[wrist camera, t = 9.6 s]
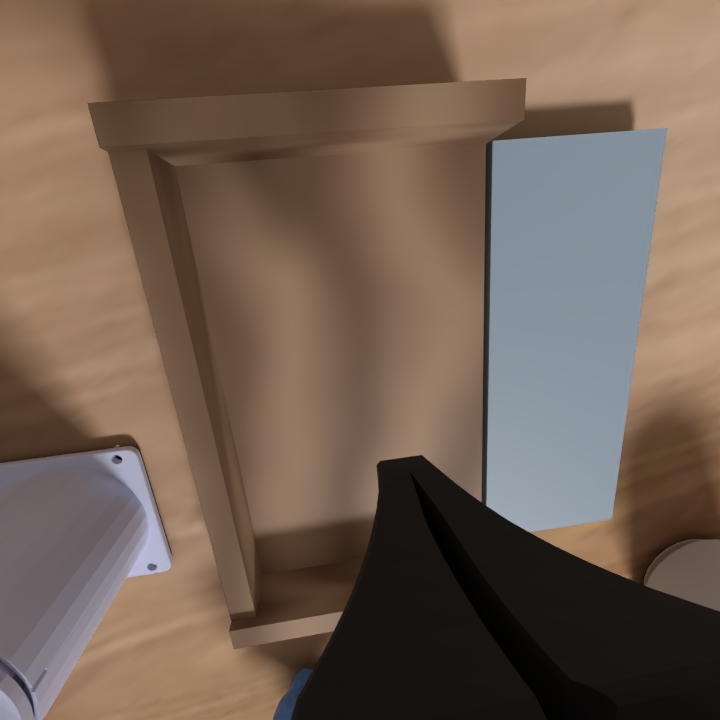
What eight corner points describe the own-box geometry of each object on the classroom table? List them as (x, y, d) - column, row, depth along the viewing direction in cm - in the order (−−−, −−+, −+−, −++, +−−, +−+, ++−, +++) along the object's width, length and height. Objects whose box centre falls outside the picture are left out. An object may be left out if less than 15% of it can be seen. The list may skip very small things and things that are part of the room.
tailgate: (485, 539, 22) (611, 519, 22) (492, 140, 15) (667, 127, 16) (480, 529, 22) (601, 510, 23) (484, 146, 16) (651, 133, 17)
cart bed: (250, 572, 22) (233, 649, 18) (151, 144, 15) (87, 102, 11) (470, 536, 23) (505, 600, 19) (471, 123, 16) (526, 78, 12)
